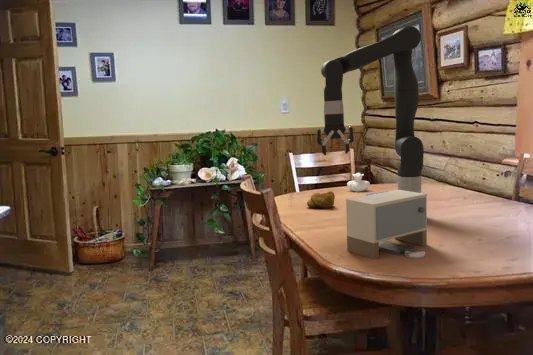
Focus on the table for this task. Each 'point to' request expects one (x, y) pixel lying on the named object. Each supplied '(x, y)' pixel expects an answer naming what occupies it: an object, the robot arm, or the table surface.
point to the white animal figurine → (358, 183)
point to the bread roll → (321, 200)
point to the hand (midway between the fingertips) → (335, 154)
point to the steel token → (415, 253)
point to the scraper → (393, 247)
